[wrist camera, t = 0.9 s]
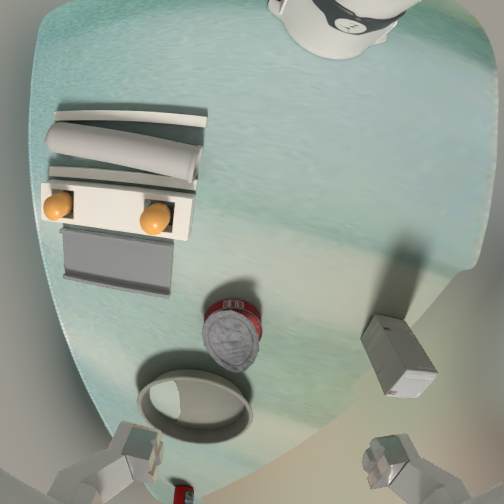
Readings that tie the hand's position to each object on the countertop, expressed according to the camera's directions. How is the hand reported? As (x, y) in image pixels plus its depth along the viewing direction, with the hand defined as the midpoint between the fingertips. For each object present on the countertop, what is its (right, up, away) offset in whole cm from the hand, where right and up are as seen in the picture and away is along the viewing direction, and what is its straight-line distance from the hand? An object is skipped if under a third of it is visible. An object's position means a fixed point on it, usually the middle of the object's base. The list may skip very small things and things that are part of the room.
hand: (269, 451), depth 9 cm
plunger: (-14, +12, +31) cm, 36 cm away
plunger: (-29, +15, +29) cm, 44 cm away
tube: (-20, +23, +30) cm, 43 cm away
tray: (-23, +6, +36) cm, 43 cm away
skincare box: (+25, -8, +44) cm, 51 cm away
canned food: (-4, -5, +42) cm, 42 cm away
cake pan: (-13, -25, +49) cm, 57 cm away
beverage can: (-24, -76, +68) cm, 105 cm away
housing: (-21, +20, +31) cm, 42 cm away
